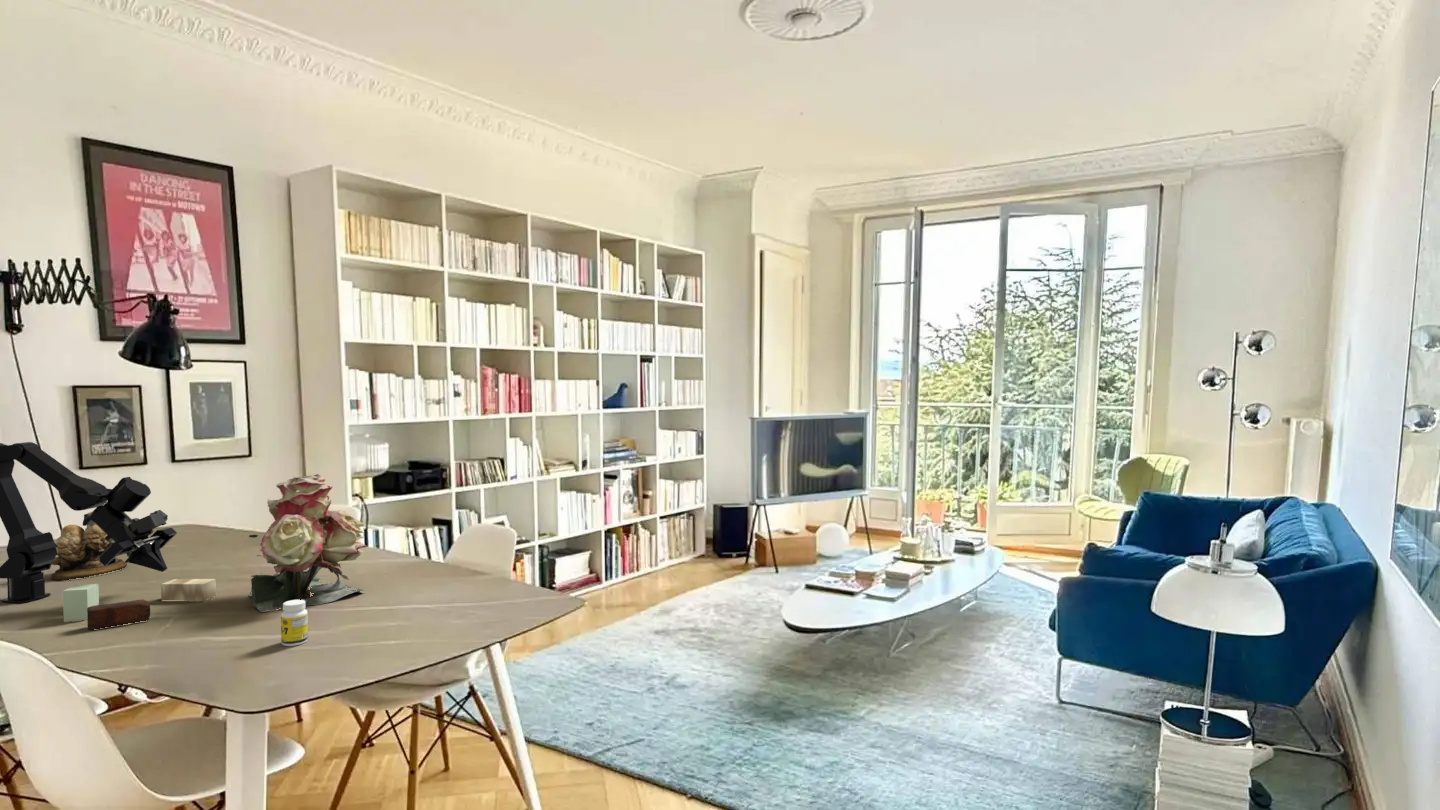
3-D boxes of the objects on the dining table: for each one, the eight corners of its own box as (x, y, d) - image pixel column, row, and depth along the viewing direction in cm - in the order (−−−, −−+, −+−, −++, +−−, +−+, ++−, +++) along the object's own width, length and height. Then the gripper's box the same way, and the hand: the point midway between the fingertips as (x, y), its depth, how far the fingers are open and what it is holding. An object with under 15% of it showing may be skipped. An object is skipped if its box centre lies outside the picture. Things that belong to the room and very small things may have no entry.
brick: (87, 632, 157) (87, 610, 157) (87, 627, 160) (86, 606, 160) (150, 622, 164) (150, 601, 164) (149, 617, 167) (148, 597, 167)
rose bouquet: (260, 619, 166) (258, 487, 165) (241, 589, 189) (239, 473, 188) (380, 598, 183) (379, 477, 182) (350, 573, 205) (349, 466, 204)
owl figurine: (112, 563, 214) (111, 504, 214) (141, 567, 211) (140, 507, 210) (38, 578, 197) (38, 515, 196) (68, 583, 193) (68, 518, 193)
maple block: (161, 584, 178) (203, 584, 179) (174, 578, 183) (215, 579, 183) (161, 602, 178) (203, 602, 179) (174, 596, 183) (215, 596, 183)
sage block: (63, 622, 163) (62, 590, 163) (75, 615, 168) (74, 585, 167) (87, 620, 165) (87, 589, 164) (99, 614, 169) (98, 583, 169)
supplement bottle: (278, 642, 152) (278, 602, 152) (303, 636, 156) (303, 597, 155) (285, 648, 149) (284, 607, 148) (310, 642, 152) (310, 602, 152)
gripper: (110, 508, 170) (160, 556, 171) (168, 495, 189) (213, 538, 190) (76, 542, 170) (126, 590, 171) (137, 526, 189) (182, 569, 190)
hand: (164, 570), depth 180 cm, fingers closed
